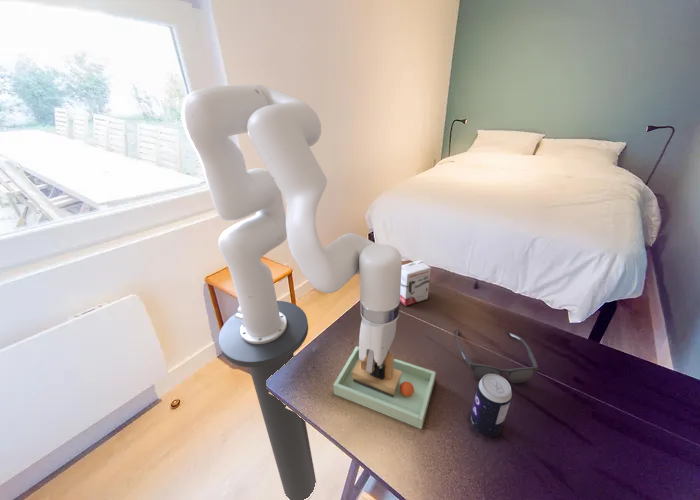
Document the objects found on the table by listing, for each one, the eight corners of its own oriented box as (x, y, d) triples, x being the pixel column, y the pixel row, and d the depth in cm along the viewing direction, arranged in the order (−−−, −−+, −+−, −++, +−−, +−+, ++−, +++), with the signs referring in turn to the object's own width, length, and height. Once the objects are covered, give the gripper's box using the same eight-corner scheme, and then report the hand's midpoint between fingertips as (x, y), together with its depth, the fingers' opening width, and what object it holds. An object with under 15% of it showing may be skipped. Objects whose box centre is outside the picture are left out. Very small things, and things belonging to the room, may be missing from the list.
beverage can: (490, 409, 65) (501, 369, 59) (506, 436, 60) (520, 395, 54) (464, 414, 64) (473, 374, 58) (479, 442, 59) (490, 401, 53)
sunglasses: (464, 384, 70) (467, 366, 68) (450, 336, 86) (452, 321, 84) (542, 388, 68) (547, 371, 66) (514, 339, 84) (517, 323, 82)
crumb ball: (396, 394, 68) (400, 387, 66) (400, 383, 70) (404, 376, 68) (409, 402, 67) (413, 394, 65) (412, 390, 69) (417, 383, 67)
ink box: (405, 306, 95) (406, 274, 89) (396, 298, 99) (397, 266, 93) (428, 298, 98) (431, 266, 92) (419, 290, 101) (422, 259, 96)
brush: (351, 382, 71) (351, 352, 66) (360, 365, 75) (361, 336, 70) (393, 399, 67) (397, 369, 62) (400, 381, 71) (404, 351, 66)
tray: (334, 394, 69) (333, 384, 68) (356, 354, 79) (356, 346, 78) (421, 429, 62) (422, 419, 60) (434, 381, 71) (436, 371, 70)
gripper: (376, 280, 68) (376, 342, 77) (344, 327, 55) (348, 395, 64) (410, 288, 65) (405, 352, 74) (384, 340, 52) (382, 409, 61)
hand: (379, 371), depth 69 cm, fingers closed on brush
